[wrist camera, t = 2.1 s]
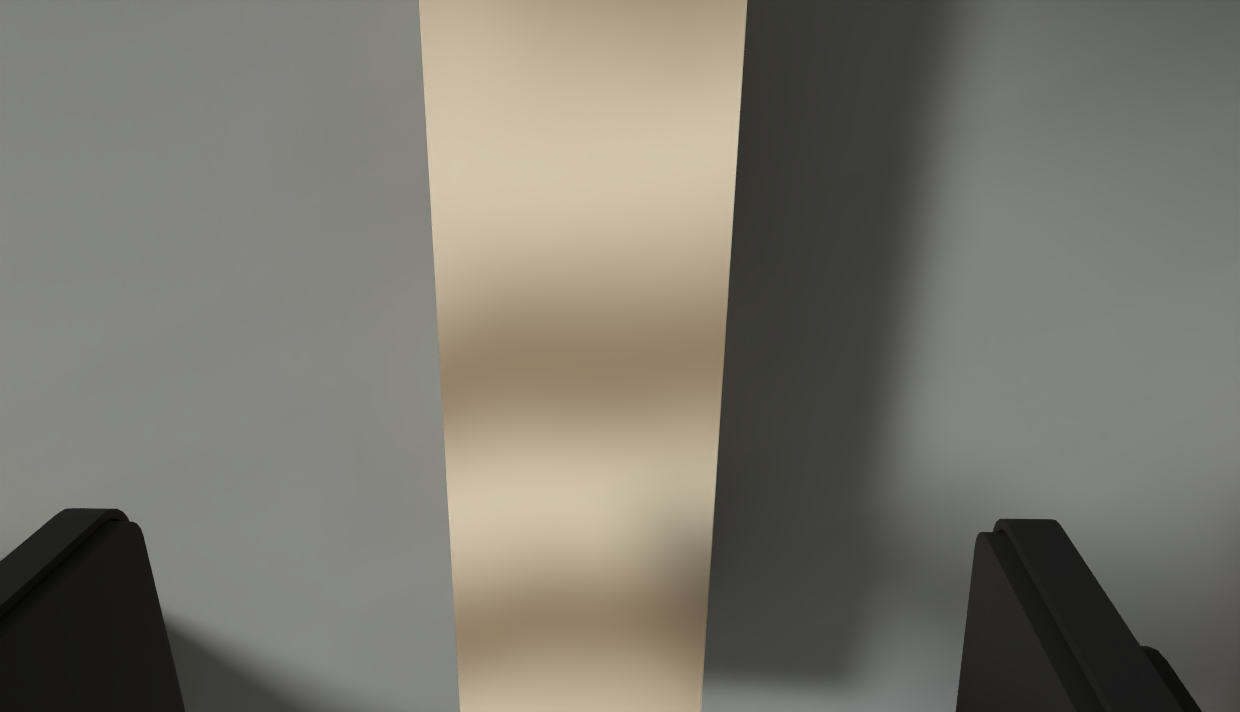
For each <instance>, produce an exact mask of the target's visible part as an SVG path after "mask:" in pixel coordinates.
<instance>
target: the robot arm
mask: <svg viewBox="0 0 1240 712" xmlns="http://www.w3.org/2000/svg"><path fill="white" fill-rule="evenodd" d="M0 712H185V709H184V704H183V700H182V695H181V691H180V687H179V683H178V679H177V675H176V670H175V666H174V662H173V658H172V654H171V649H170V645H169V641H168V637H167V633H166V628H165V624H164V620H163V616H162V612H161V608H160V603H159V599H158V595H157V591H156V587H155V582H154V578H153V574H152V570H151V566H150V562H149V557H148V553H147V549H146V545H145V541H144V536H143V533H142V531H141V528H140V527H139V526H138V524H137V523H134V522H129V519H128V517H127V516H126V515H125V514H124V512H122V511H120V510H118V509H90V508H71V509H64V510H63V511H61V512H59V513H58V514H56V515H55V516H54V517H53V518H52V519H50V520H49V521H48V522H47V523H46V524H45V525H43V526H42V527H41V528H40V529H39V530H37V531H36V532H35V533H34V534H33V535H31V536H30V537H29V538H28V539H27V540H25V541H24V542H23V543H22V544H21V545H19V546H18V547H17V548H16V549H15V550H13V551H12V552H11V553H10V554H9V555H7V556H6V557H5V558H4V559H3V560H1V561H0ZM956 712H1202V711H1201V710H1200V708H1199V707H1198V705H1197V704H1196V702H1195V701H1194V699H1193V698H1192V697H1191V695H1190V694H1189V692H1188V691H1187V689H1186V688H1185V686H1184V685H1183V683H1182V682H1181V680H1180V679H1179V678H1178V676H1177V675H1176V673H1175V672H1174V670H1173V669H1172V667H1171V666H1170V664H1169V663H1168V662H1167V660H1166V659H1165V658H1164V657H1163V656H1162V655H1161V654H1160V653H1159V651H1158V650H1156V649H1153V648H1151V647H1149V646H1140V645H1139V643H1138V642H1137V640H1136V639H1135V637H1134V636H1133V634H1132V633H1131V631H1130V630H1129V628H1128V627H1127V625H1126V624H1125V622H1124V621H1123V619H1122V618H1121V616H1120V614H1119V613H1118V611H1117V610H1116V608H1115V607H1114V605H1113V604H1112V602H1111V601H1110V599H1109V598H1108V596H1107V595H1106V593H1105V592H1104V590H1103V589H1102V587H1101V586H1100V584H1099V583H1098V581H1097V580H1096V578H1095V577H1094V575H1093V574H1092V572H1091V571H1090V569H1089V568H1088V566H1087V565H1086V563H1085V561H1084V560H1083V558H1082V557H1081V555H1080V554H1079V552H1078V551H1077V549H1076V548H1075V546H1074V545H1073V543H1072V542H1071V540H1070V539H1069V537H1068V536H1067V534H1066V533H1065V531H1064V530H1063V528H1062V527H1061V525H1060V524H1059V523H1058V522H1057V521H1056V520H1052V519H999V520H998V521H997V522H996V524H995V527H994V530H993V532H980V533H979V534H978V536H977V539H976V543H975V550H974V559H973V567H972V576H971V585H970V593H969V602H968V611H967V619H966V628H965V637H964V645H963V654H962V662H961V671H960V680H959V688H958V697H957V706H956Z"/></svg>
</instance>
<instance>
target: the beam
mask: <svg viewBox="0 0 1240 712" xmlns="http://www.w3.org/2000/svg"><path fill="white" fill-rule="evenodd" d="M419 8H420V26H421V43H422V60H423V77H424V95H425V112H426V129H427V147H428V164H429V181H430V198H431V216H432V233H433V250H434V268H435V285H436V302H437V319H438V337H439V354H440V371H441V389H442V406H443V423H444V440H445V458H446V475H447V492H448V510H449V527H450V544H451V562H452V579H453V596H454V613H455V631H456V648H457V665H458V682H459V700H460V712H701V702H702V687H703V672H704V656H705V641H706V626H707V610H708V595H709V580H710V564H711V549H712V534H713V518H714V503H715V488H716V472H717V457H718V442H719V426H720V411H721V396H722V380H723V365H724V350H725V334H726V319H727V304H728V288H729V273H730V258H731V242H732V227H733V212H734V197H735V181H736V166H737V151H738V135H739V120H740V105H741V89H742V74H743V59H744V43H745V28H746V13H747V0H419Z"/></svg>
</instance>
